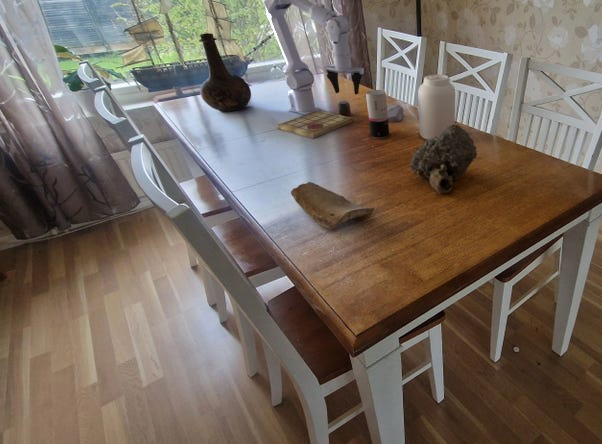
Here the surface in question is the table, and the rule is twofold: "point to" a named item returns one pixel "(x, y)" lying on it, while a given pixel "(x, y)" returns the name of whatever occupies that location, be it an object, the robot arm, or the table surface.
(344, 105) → the black canister
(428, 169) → the encrusted bottle
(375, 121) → the beverage can
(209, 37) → the glass bottle
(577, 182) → the table surface
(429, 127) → the white jar
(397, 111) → the stone block
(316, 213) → the fossil
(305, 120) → the board
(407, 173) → the table surface
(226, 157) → the table surface
